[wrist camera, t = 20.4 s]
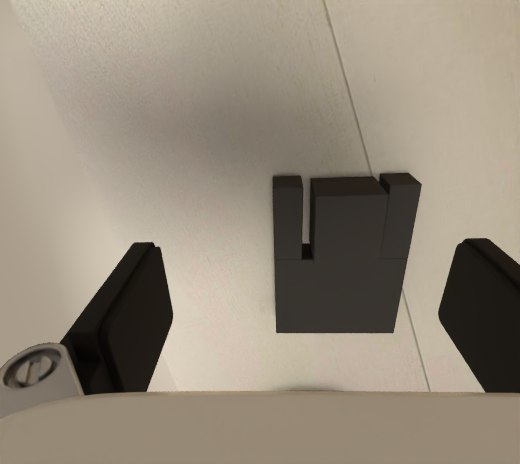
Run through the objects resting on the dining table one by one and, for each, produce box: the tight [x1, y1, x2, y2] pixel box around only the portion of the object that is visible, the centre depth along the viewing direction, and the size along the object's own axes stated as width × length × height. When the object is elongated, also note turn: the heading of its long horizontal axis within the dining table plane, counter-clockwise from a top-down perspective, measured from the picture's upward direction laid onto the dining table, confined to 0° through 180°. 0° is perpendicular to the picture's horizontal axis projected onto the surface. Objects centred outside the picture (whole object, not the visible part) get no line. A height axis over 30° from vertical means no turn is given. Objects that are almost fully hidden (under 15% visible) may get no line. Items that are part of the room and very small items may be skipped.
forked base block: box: [273, 173, 422, 333], centre depth 32 cm, size 12×16×3 cm
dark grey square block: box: [309, 177, 389, 265], centre depth 29 cm, size 6×6×4 cm
